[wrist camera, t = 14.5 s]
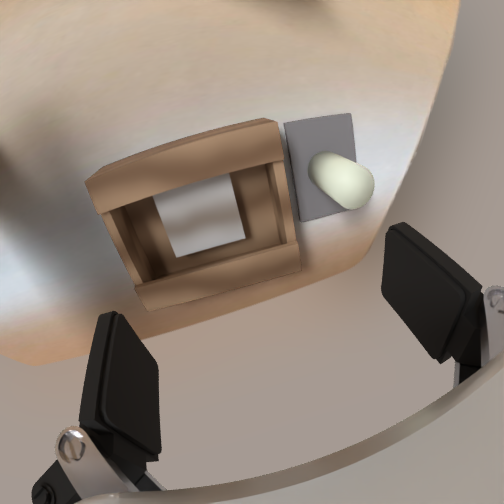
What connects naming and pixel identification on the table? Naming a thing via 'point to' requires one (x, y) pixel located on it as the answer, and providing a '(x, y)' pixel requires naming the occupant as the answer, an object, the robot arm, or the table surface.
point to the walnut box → (200, 213)
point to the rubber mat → (305, 147)
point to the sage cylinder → (341, 179)
